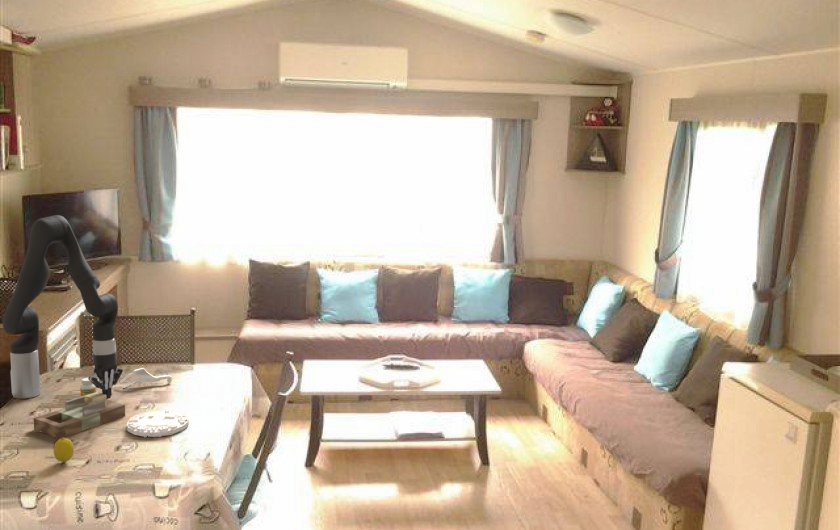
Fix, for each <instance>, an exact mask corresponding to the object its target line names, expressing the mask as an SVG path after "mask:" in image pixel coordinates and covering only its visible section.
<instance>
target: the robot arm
mask: <svg viewBox="0 0 840 530" xmlns="http://www.w3.org/2000/svg"><path fill="white" fill-rule="evenodd" d="M56 243H60V244H61V245H62V246H63V248H64V249H65V251H66V252H65V253H66V254H67V256H66V257H67V269H68V273H69V275H70V278H71V280H72V281H73V283H74V284H75V286H76V288H77V289H78V290H79V292H80V295H81V299H82V303H83V304H84V308H85V309H86V311H87V312H88V313H89V315H90V316H92V317H95V318H98V320H97V321H96V322H95V323H93V324H92V356H93V358H92V359H93V366H94V369H93V373H92V375H91V376H88V377H87V378H88V379H89V380H90V381H91V382H92V383H93V384H94V385H95V386H96V389H100V390H101V393H102V394H105V395H106V398H107V400H110V399H111V397H112V394H113V393H112V388H113V386H116V385H117V383H118V382H119V381H120V378H121V376H122V374H123V372H124V369H122V368H119V367H118V365H117V361H118V359H117V343H116V342H117V341H116V334H115V333H116V332H115V323H116V321H117V317H118V316H117V315H118V310H119V304H118V300H117V298H116V296H114V295H113V294H112V293H103V294H100V295H99V293H98V289H99V288H100V286H101V282H100V280H99V278H98V277H97V275H96V274H95V272H94V271H93V269H92V268H91V266H90V264H89V263H88V261H87V260H86V258H85V256H84V254H83V251H82V248H81V247H80V244H79V242H78V240H77V238H76V235H75V233H74V231H73V229H72V226H71V225H70V223H69V221H68V220H67V219H66V217H64V216H62V215H59V214H57V215H50V216H46V217H41V218H39V219H37V220H34V222H33V224H32V226H31V229H30V234H29V240H28V245H27V250H26V253H25V257H24V261H23V263H22V266H21V269H20V273H19V275H18V279H17V283H16V284H15V285H16V286H15V288H14V292H13V293H12V297H11V299H10V301H9V303H8V305H7V307H6V309H5V312H4V313H3V316H2V329H3V331H4V332H5V334H8V335H9V336H12V335H13V336H15V335H20V336H19V337H18V338H17V339H16V340H14V341H12V342H11V343H10V345H9V355H10V371H9V372H10V385H11V395H12V397H13V398H15V399H31V398H34V397H37V396H39V395H41V381H40V380H41V379H40V362H39V360H40V358H39V342H40V319H39V314H38V312H37V310H36V309H35V308H34V307H32V306H31V307H30V306H29V305H30V304H31V303H32V302H34V300H35V299H37V298H38V297H39V296H40V295H41V294H42V292H43V291H44V290H45V288H46V287H47V285H48V280H49V278H50V273H51V272H50V271H51V269H50V267H49V266H50V265H49V264H48V262H47V259H46V255H47V254H46V253H47V251H48V248H49V247H50V246H51V245H52V244H56Z"/></svg>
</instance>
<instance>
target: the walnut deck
mask: <svg viewBox="0 0 840 530" xmlns="http://www.w3.org/2000/svg"><path fill="white" fill-rule="evenodd" d="M85 396H86V395H85ZM85 396H81V395H80V396H78V397H75V398H72V399H68V400H65V402H64V404H65V407H64V408H60V409H57V410H54V411H51V412H47V413H44V414H42V415H39V416H35V417H33V430H34V429H35V430H34V431H37V430H38V431H37V432H40V431H41V432H40V433H42V432H43V434H45V433H46V435H48V436H51V437H53V438H56V439H58V440H59V439H61V438H63V437H64V438H66V437H70V436H72V435H75V434H79V433H80V432H81V433H82V432H84V431H87V430H89V428H90V429H92V428H95V427H97V426H100V425H103V424H106V423H109V422H112V421H114V420H117V419H120V418H123V417H126V406H125V404H124V403H123V404H122V403H120V402H118V401H117V402H116V401H113V400H110V399H107V406H105V401H103V400H102V401H99V402H96V403H93V404H90V405H87V406H85ZM86 429H87V430H86ZM83 430H84V431H83Z"/></svg>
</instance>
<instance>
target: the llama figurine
mask: <svg viewBox="0 0 840 530" xmlns="http://www.w3.org/2000/svg"><path fill="white" fill-rule="evenodd" d="M132 376H136V377H137V379H135V380H134V381H132V382H130V383H127V384H125V385H122V389H123V388H125V389H126V388H128V387H131V386H133V385H136V384H143V383H152V382H159V381H162V380H166V383H168V384H169V383H171V382H172V379H173V376H171V375H170V374H166V375H165V374H164V375H158V376H155V375H153V374H151V373H149V372H148V371H147V370H146V369H145V367H141V368H137V369H133V370H132V372H129V373H127V375H126V376H125V377H124V378H123V379H121V380H118V383H119V384H120V385H121V384H122V383H124V382H125V381H126V380H127V379H129V378H130V377H132Z"/></svg>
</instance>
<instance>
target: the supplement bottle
mask: <svg viewBox="0 0 840 530" xmlns="http://www.w3.org/2000/svg"><path fill="white" fill-rule="evenodd" d="M88 378H89V377H84V378H82V379H81V383H82V384H81V385H80V387H79V388H80V389H79V390H80V391H79V392H80V397H81V396H85V395H89V394H92V393H96V392H97V387H96V386H95V385H94V384H93V383H92V382H91V381H90V380H89V379H88Z"/></svg>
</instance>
